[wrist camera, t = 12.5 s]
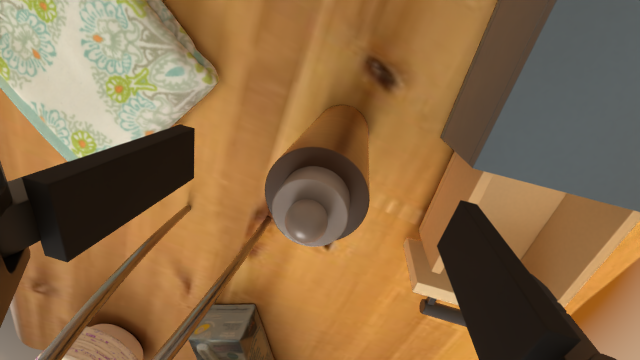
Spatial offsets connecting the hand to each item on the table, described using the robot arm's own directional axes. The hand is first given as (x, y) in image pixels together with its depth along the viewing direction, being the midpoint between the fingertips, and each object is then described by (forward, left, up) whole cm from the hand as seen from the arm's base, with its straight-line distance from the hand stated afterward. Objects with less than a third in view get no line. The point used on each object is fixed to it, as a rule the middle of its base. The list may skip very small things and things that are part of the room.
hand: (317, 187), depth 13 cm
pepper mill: (0, 0, -15) cm, 15 cm away
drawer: (+5, +16, -14) cm, 22 cm away
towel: (-2, -26, -15) cm, 30 cm away
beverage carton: (+38, -5, -15) cm, 41 cm away
